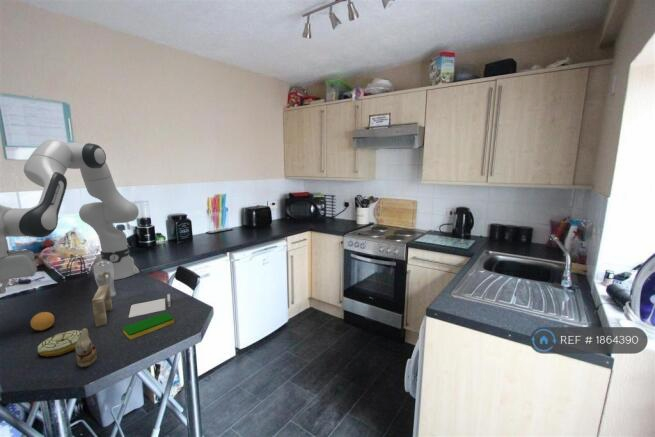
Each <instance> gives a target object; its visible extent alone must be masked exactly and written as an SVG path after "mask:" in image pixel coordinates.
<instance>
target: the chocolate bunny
mask: <svg viewBox="0 0 655 437" xmlns="http://www.w3.org/2000/svg"><path fill="white" fill-rule="evenodd" d="M80 331H81V334H80V336H79V337H78V340H77V343H76V348H75V349H74V351H75V354H76V355H75V357H76V362H77V363H76V364H77V366H79V367H80V368H87V367H89V366H91V365H93V364H94V363H95V361H97V360H98V351H97V349H96V346H94V345H93V342H92V340H91V338H90V337H89V336H90V335H89V331H88V328H86V327H85V328H82V329H81V330H80Z"/></svg>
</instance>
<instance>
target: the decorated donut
mask: <svg viewBox="0 0 655 437" xmlns="http://www.w3.org/2000/svg"><path fill="white" fill-rule="evenodd" d="M81 331H82V330H76V329H74V330H73V329H72V330H69V331H65V332H60V333H57V334H55V335H52V336H50V337H48V338H47V339H45V340H43V341H42V342H41V343H39V345H38V346H37V353H38V354H39V355H40V356H41V357H54V356H55V357H56V356H61V355H64V354H66V353H69V352H71V351H75V348H76V343H77V340H78V337H79V336H80V334H81Z"/></svg>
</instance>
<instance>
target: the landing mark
mask: <svg viewBox="0 0 655 437" xmlns="http://www.w3.org/2000/svg"><path fill="white" fill-rule="evenodd" d="M162 311H166V298H159V299H155V300H151V301H150V300H149V301H146V302H141V303H140V302H139V303H135V304H131V306H130V310H129V314H128V318H129V319H130V318H135V317H139V316H144V315H149V314H153V313H159V312H162Z"/></svg>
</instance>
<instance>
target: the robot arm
mask: <svg viewBox="0 0 655 437" xmlns="http://www.w3.org/2000/svg"><path fill="white" fill-rule="evenodd" d="M106 155H107V154H106V153H105V150H104V149H103V148H102V147H101V146H100V145H99V144H95V143H91V142H88V143H84V142H74V141H73V142H64V141H61V140H58V139H47V140H45V141H43V142H42V143H41V144H40V145H38V147H37V148H35V149H34V151H32V153H31V154H30V156H29V157H28V159H27V160H26V162H25V164H24V166H23V173H24V175H25V177H26V178H27V179H28V180H29V181H31V182H32V183H34V184H36V185H37V186H39V187H42V188H43V190H42V193H41V195H40V198H39V201H38V203H37V204H35V206H32V207H29V208H28V207H25V208H17V207H16V208H15V207H14V208H12V207H8V206H4V205H2V204H0V284H1V286H0V295H1V294H5V293H6V292H7V290H6V287H7V285H8V283H9V282H10V280H13V279H19V278H28V277H32V276H34V275H36V273H37V272H38V268H37V265H36V262H35V258H36V257H35V253H34V251H32V250H31V249H28V248H21V249H11V250H10V249H9V245H8V239H7V238H8V237H11V238H12V237H13V238H14V237H16V238H17V237H19V238H20V237H21V238H22V237H24V238H25V237H29V238H30V237H31V238H46V237H48V236H49V235H51V234H53V232H55V230H56V229H57V228H58V220H59V213H60V209H61V207H62V204H63V201H64V197H65V195H66V194H65V193H66V190H67V186H68V181H67V178H66V176H65V174H66V171H68V169H71V170H79V171H80V174H81V177H82V180H83V183H84V185H85V188H86V191H87V193H88V195H90V196H91V197H93V198H95V199H97V200H99V202H96V201H94V202H91V203H90V202H89V203H85V204H82V206H81V207H80V208H79V211H78V212H79V213H78V217H79V218H80V220H81V221H82V222H83V223H85V224H86V225H89V226H90V227H91V228H92V229H93V230H94V231H95V233H96V235H97V236H98V240H99V244H100V249H101V250H100V257H101V258H100V261H99V262H102V261H112V264H113V268H114V281H115V280H116V281H117V280H120V279H121V280H122V279H125V278H128V277H130V276H134V275H136V274H140V272H141V271H140V269H139V268H138V267H137V266H136V264H135V261H134V258H133V257H132V256H130V248H129V247H128V242H127V241H128V240H127V234H126V233H125V232H124V231H122V230H121V229H118V228H117V227H115V225H114V224H123V223H125V224H126V223H130V222H134V221H136V220H137V219H138V217H139V208H138V206H137V204H135V203H134V202H132V201H130V200H128V199H127V198H125V197H124V196H123V195H122V194H121V193H120V192H119V189H118V188H117V187H116V184H115V182H114V180H113V177H112V174H111V171H110V168H109V166H108V164H107V161H106V160H107V156H106Z"/></svg>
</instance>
